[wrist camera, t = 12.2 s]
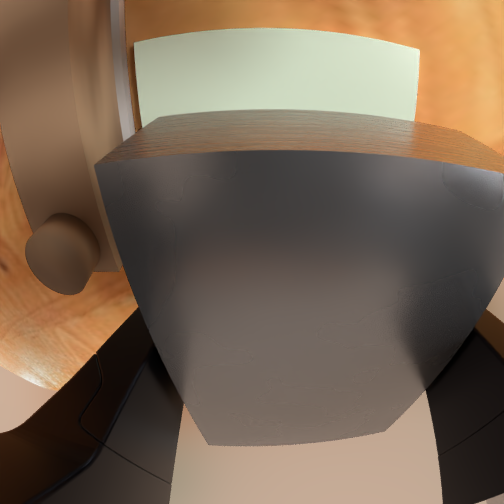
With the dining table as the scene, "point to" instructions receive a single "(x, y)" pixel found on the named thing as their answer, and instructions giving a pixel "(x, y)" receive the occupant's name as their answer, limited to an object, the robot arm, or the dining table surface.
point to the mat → (275, 73)
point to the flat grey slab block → (304, 262)
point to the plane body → (64, 128)
